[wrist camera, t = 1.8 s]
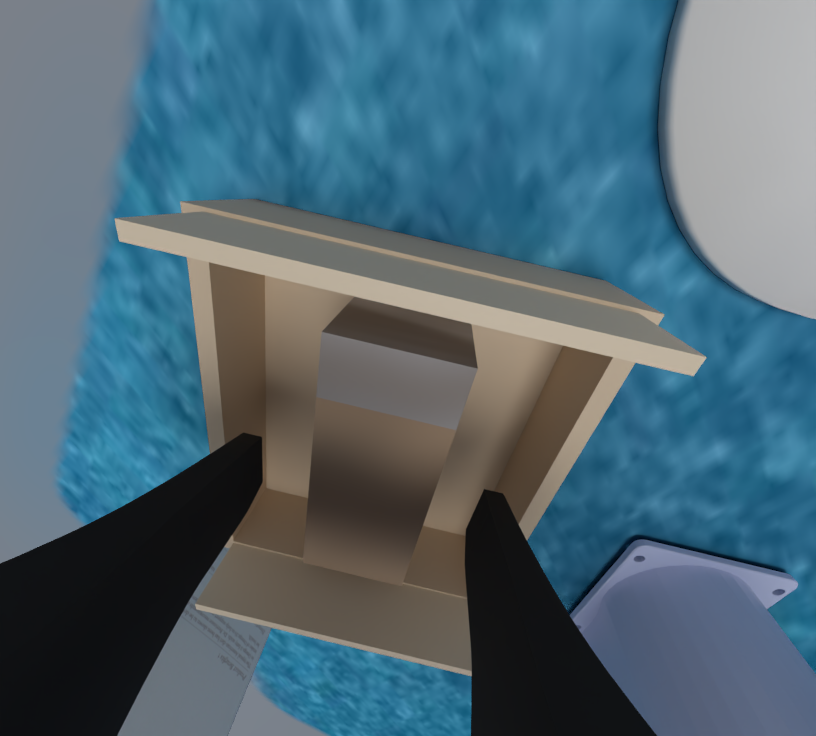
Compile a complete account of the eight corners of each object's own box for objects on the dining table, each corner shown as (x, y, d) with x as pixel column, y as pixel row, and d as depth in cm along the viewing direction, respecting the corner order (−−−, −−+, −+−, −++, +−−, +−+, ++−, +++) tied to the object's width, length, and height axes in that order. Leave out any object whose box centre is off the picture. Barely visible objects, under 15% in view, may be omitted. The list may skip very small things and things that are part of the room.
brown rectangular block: (412, 502, 17) (401, 586, 13) (334, 484, 17) (302, 562, 13) (470, 316, 12) (477, 368, 8) (360, 290, 12) (321, 331, 8)
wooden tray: (479, 538, 18) (490, 682, 13) (260, 485, 18) (181, 606, 13) (606, 280, 11) (743, 360, 6) (254, 198, 11) (80, 204, 6)
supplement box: (141, 529, 21) (-192, 890, 10) (230, 510, 19) (-66, 933, 8) (211, 594, 24) (10, 930, 13) (294, 584, 22) (139, 969, 11)
